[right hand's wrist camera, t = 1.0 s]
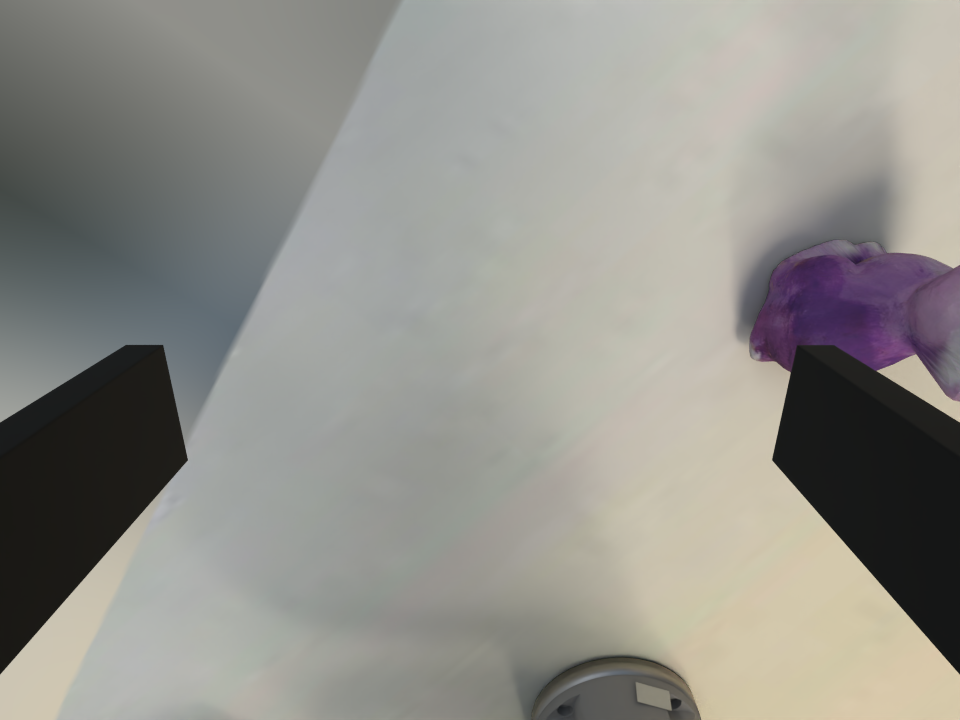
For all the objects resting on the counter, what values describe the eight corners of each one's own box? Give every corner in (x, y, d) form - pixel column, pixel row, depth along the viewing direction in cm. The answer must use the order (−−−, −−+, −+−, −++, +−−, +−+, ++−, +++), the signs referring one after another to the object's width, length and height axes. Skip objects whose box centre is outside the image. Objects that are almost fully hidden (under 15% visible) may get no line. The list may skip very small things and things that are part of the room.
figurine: (922, 225, 37) (1184, 285, 24) (860, 369, 41) (1054, 495, 27) (781, 203, 37) (963, 251, 23) (731, 351, 41) (862, 470, 27)
